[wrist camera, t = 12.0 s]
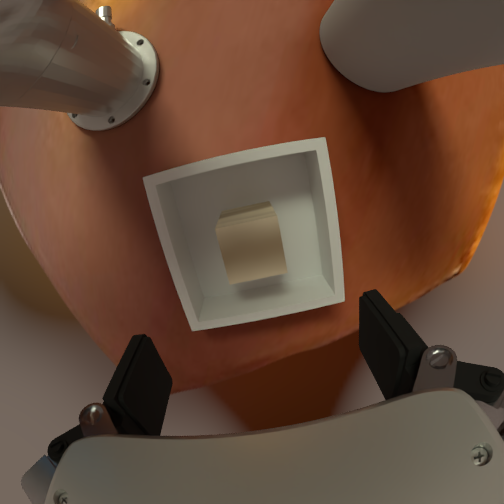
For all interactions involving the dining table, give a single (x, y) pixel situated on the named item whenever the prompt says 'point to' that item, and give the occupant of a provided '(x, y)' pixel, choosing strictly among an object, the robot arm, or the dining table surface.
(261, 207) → the birch block
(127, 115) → the robot arm
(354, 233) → the dining table surface
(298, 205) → the bin
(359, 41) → the cylinder vase
